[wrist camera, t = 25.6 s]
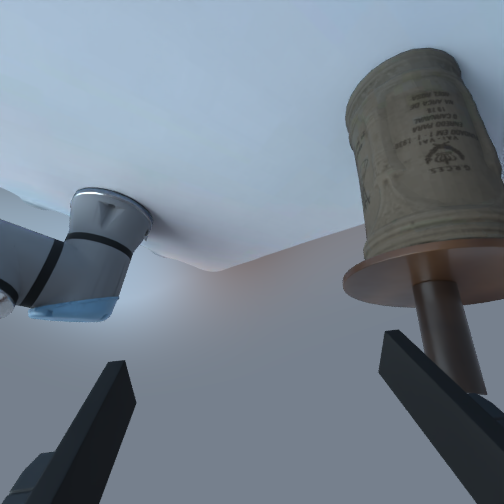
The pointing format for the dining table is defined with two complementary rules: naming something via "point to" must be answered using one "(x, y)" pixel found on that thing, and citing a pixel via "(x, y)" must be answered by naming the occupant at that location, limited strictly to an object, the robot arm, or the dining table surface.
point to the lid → (437, 295)
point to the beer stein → (422, 155)
